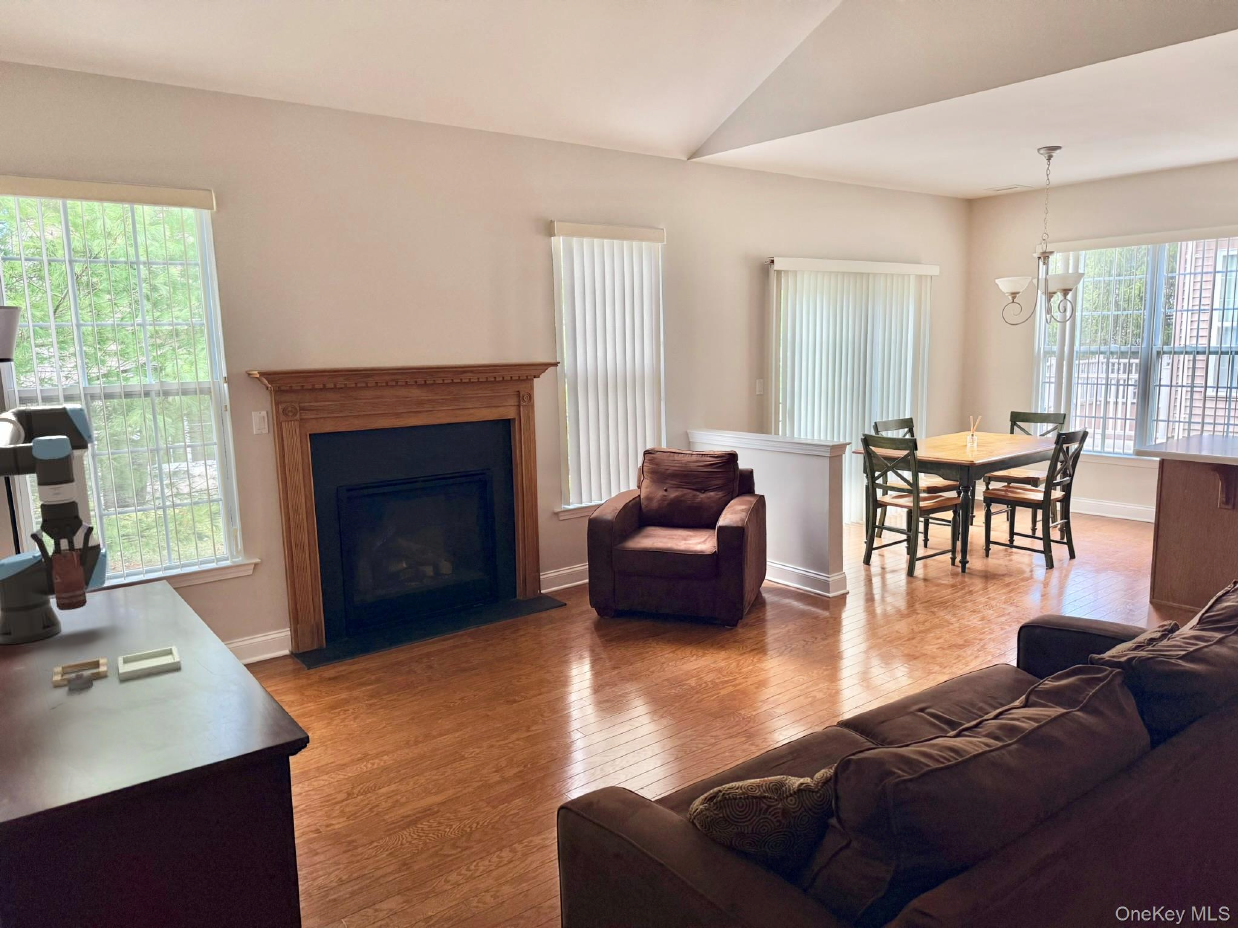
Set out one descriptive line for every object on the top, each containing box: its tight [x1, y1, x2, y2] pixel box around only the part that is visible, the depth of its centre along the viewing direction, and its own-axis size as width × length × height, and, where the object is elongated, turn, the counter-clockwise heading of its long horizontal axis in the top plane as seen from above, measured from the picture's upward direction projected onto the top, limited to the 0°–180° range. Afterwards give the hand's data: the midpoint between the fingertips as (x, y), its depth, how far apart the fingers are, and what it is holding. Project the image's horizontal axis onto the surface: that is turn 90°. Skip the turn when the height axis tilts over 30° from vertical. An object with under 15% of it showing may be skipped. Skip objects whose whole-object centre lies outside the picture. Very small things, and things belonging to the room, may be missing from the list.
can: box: [50, 549, 88, 611], centre depth 203 cm, size 6×6×14 cm
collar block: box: [52, 656, 109, 692], centre depth 203 cm, size 18×11×3 cm, turn 32°
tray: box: [117, 645, 182, 681], centre depth 210 cm, size 13×13×2 cm
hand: (71, 596), depth 204 cm, fingers closed
